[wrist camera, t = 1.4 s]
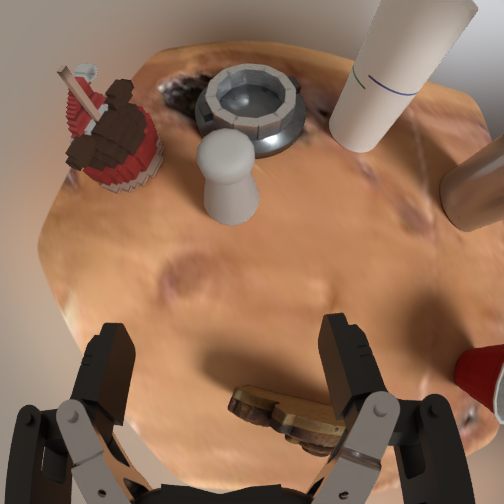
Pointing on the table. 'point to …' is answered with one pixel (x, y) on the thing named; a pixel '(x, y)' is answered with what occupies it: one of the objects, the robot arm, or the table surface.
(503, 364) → the plastic cup
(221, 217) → the salt shaker
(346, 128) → the cylindrical container
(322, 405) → the wooden carving
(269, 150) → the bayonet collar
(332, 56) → the table surface
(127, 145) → the cake
